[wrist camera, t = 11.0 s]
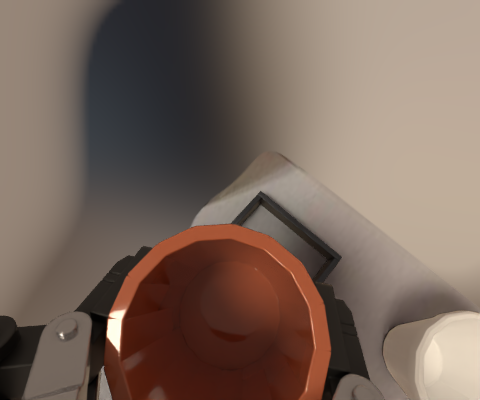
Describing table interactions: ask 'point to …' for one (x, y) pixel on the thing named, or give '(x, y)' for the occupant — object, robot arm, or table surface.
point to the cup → (436, 357)
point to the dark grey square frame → (297, 228)
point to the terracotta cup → (217, 322)
